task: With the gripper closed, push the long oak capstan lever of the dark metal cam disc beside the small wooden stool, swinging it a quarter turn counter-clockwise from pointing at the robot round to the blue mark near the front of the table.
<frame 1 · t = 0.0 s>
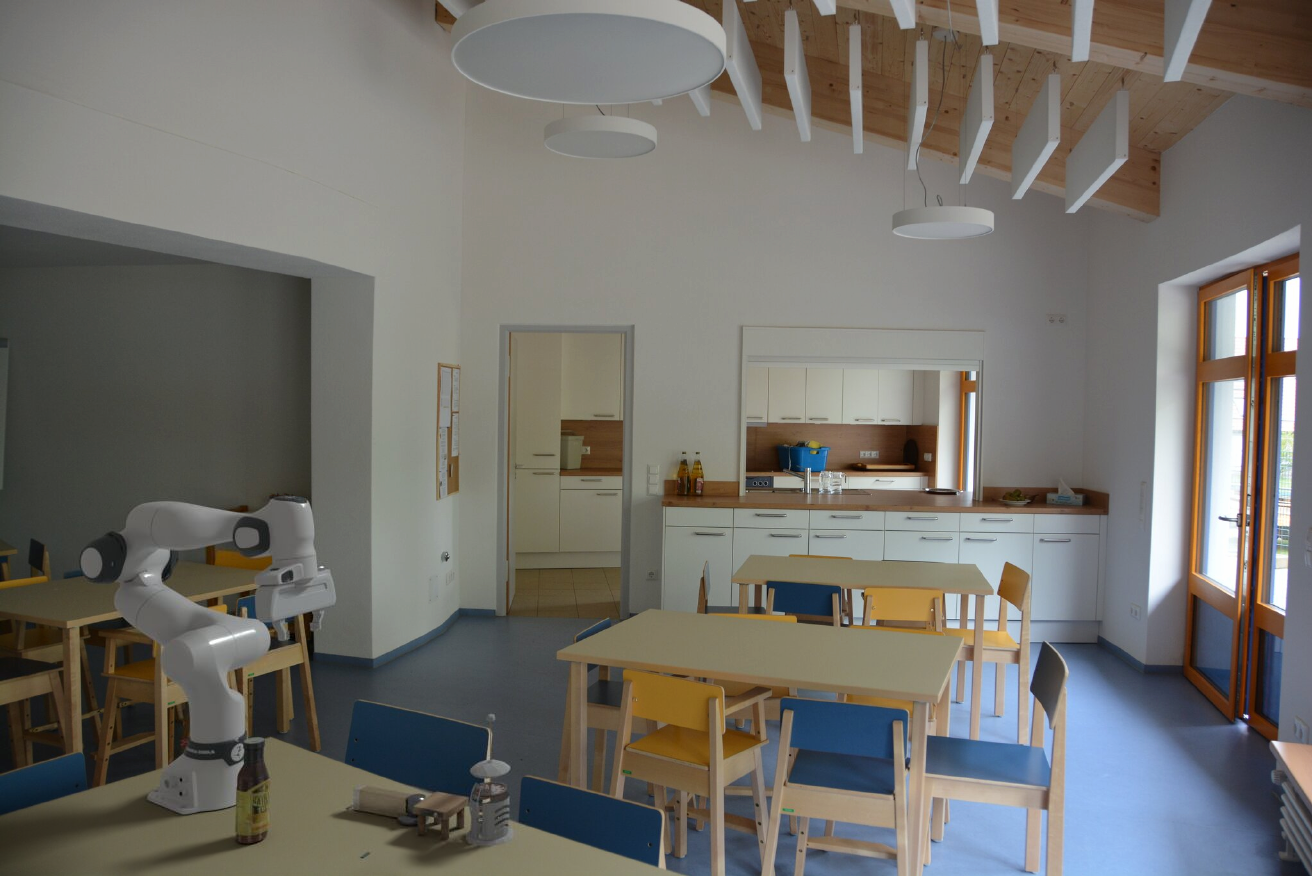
hand: (300, 635, 193), 39 cm above the table, tool pointing down, fingers open, 8 cm apart
sauce bottle: (252, 838, 182), on the table
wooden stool: (441, 830, 186), on the table
french press: (487, 838, 184), on the table
cam lever: (390, 803, 193), point 3 cm above the table, hinge at 0.0°
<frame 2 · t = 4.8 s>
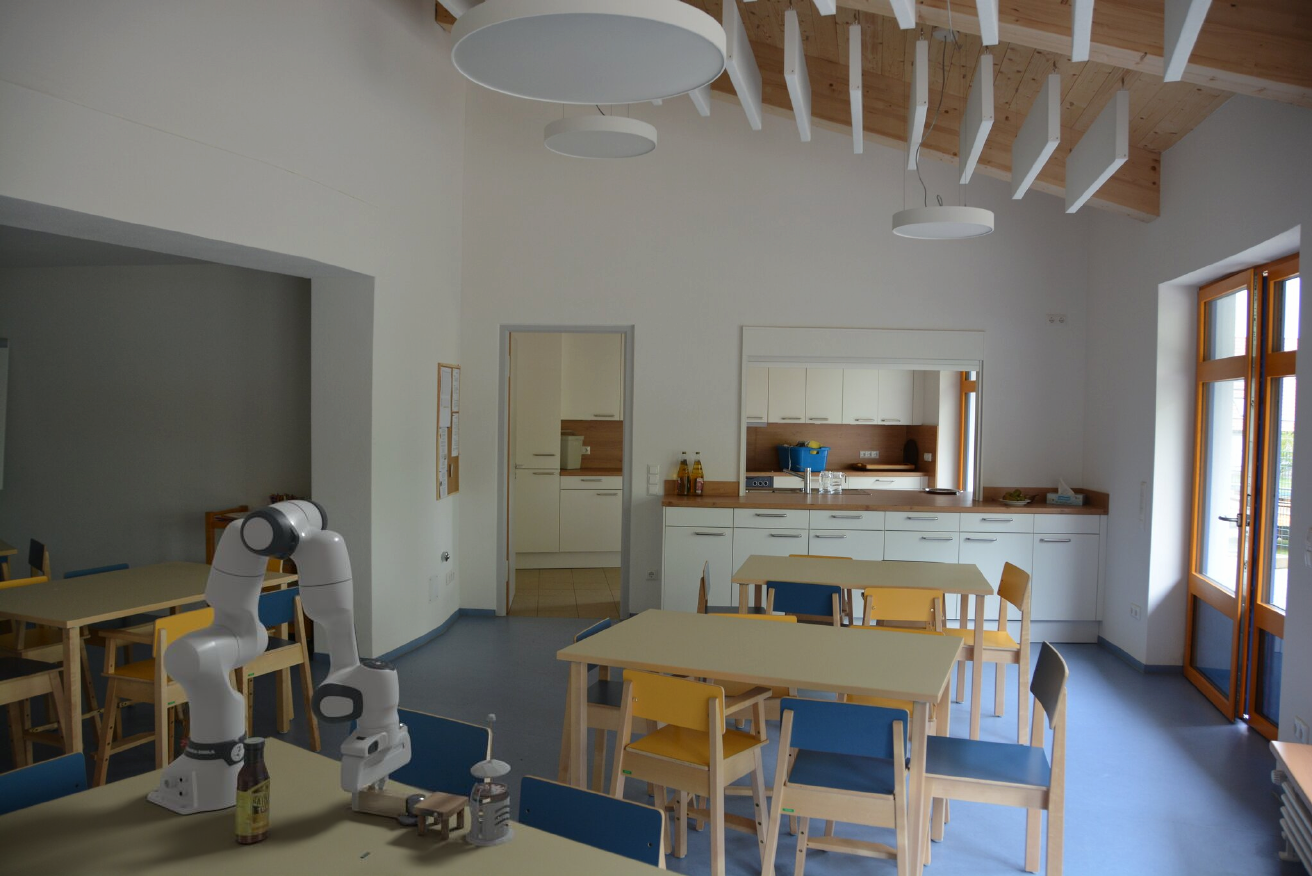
hand: (377, 797, 198), 2 cm above the table, tool pointing down, fingers closed
cam lever: (390, 803, 193), point 3 cm above the table, hinge at 1.7°, touching gripper
everything else where it was.
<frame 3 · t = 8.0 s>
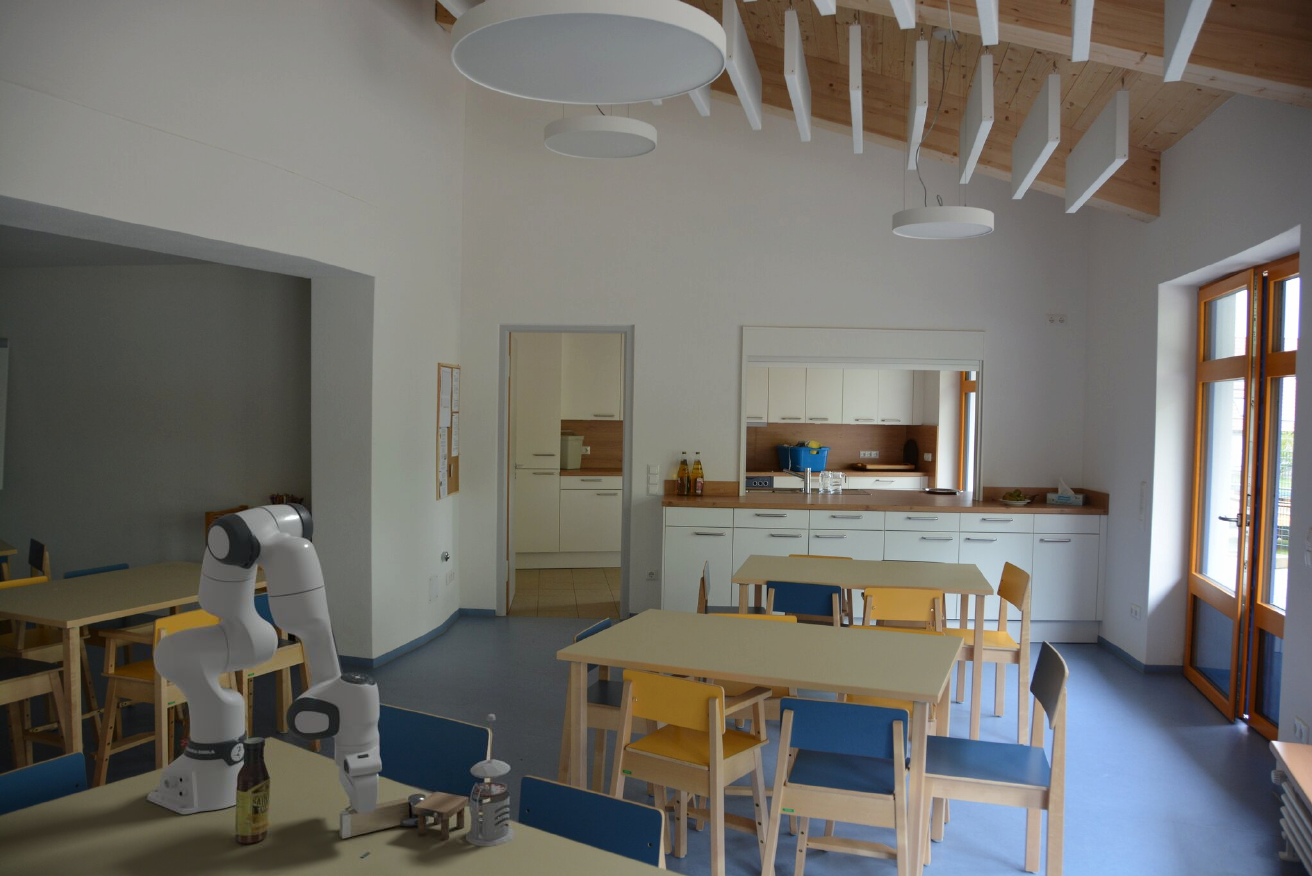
hand: (356, 818, 187), 2 cm above the table, tool pointing down, fingers closed
cam lever: (385, 815, 187), point 3 cm above the table, hinge at 53.3°, touching gripper
everything else where it was.
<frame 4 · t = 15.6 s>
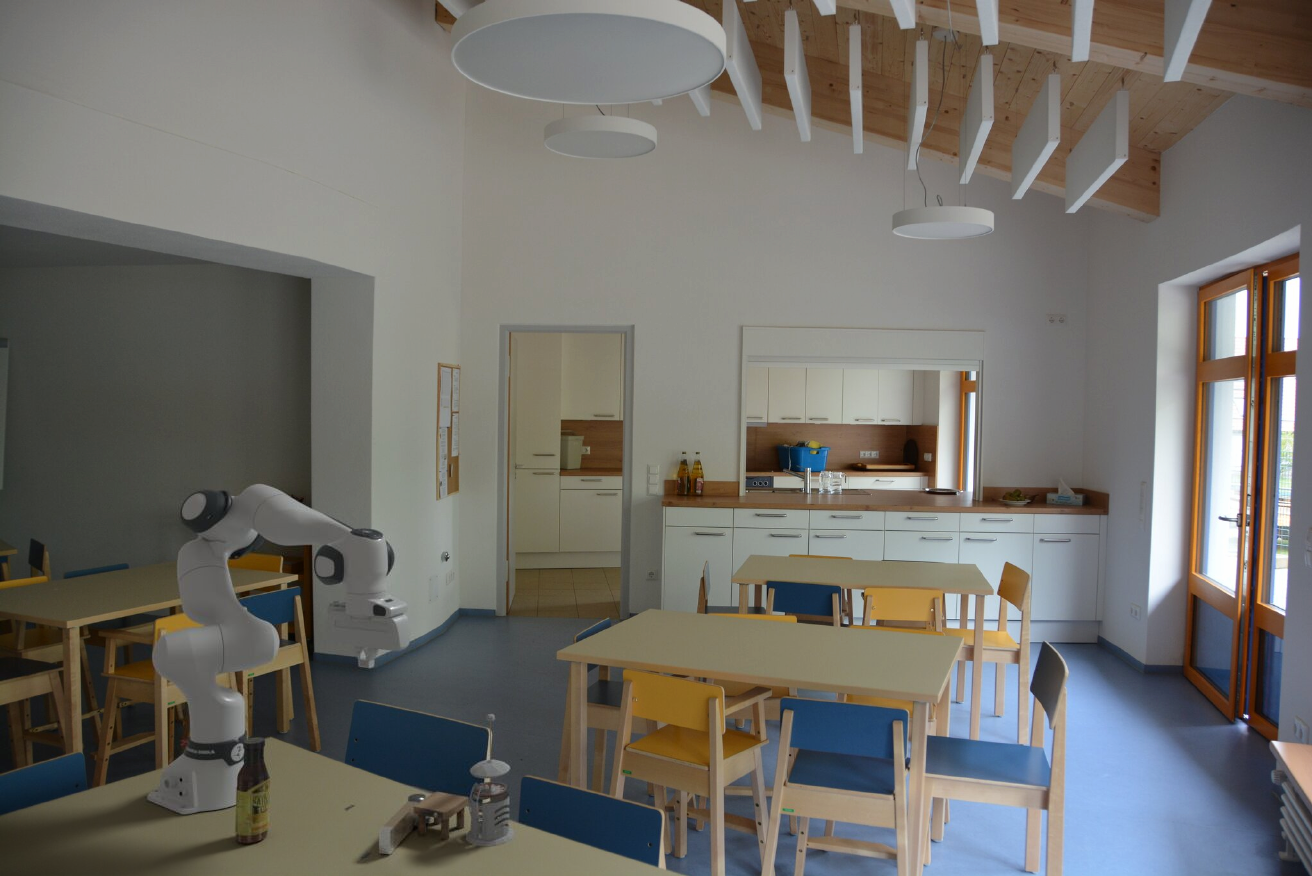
hand: (366, 667, 196), 31 cm above the table, tool pointing down, fingers closed
cam lever: (403, 821, 184), point 3 cm above the table, hinge at 102.7°
everything else where it was.
at the end: cam lever at +103° (first picture: +0°) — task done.
